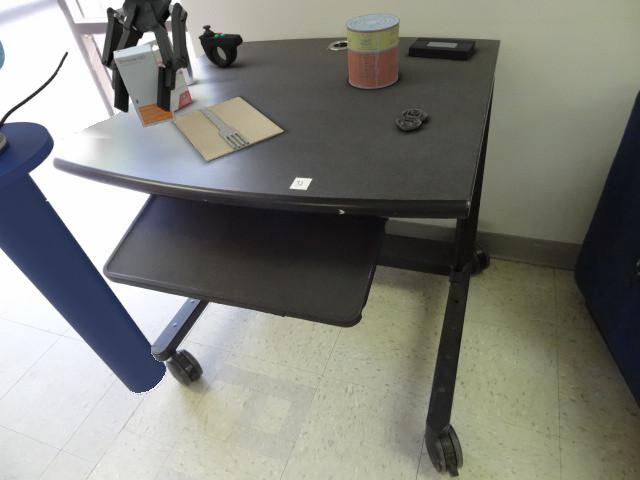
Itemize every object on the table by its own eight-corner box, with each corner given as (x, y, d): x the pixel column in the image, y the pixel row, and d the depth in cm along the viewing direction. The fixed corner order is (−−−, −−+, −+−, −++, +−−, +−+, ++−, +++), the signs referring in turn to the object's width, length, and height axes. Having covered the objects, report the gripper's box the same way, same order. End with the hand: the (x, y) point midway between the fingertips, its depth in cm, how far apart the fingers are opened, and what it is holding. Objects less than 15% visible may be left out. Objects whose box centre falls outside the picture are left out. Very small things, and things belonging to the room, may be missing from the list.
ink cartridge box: (180, 98, 96) (156, 31, 86) (193, 101, 93) (170, 34, 83) (150, 113, 91) (122, 44, 81) (163, 117, 89) (136, 47, 79)
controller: (213, 62, 112) (202, 23, 106) (250, 64, 108) (241, 24, 101) (204, 68, 110) (192, 28, 103) (242, 70, 105) (232, 29, 98)
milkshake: (199, 77, 105) (186, 36, 98) (195, 85, 101) (182, 43, 94) (182, 79, 105) (168, 38, 98) (178, 87, 101) (163, 45, 94)
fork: (197, 112, 88) (196, 110, 88) (210, 108, 89) (209, 106, 89) (234, 149, 74) (233, 147, 74) (249, 143, 75) (248, 141, 75)
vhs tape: (418, 45, 105) (418, 37, 104) (474, 49, 99) (475, 40, 98) (408, 55, 100) (408, 47, 99) (466, 60, 94) (467, 51, 93)
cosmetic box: (143, 129, 70) (112, 58, 62) (141, 119, 73) (112, 50, 65) (177, 120, 71) (152, 49, 63) (174, 111, 74) (150, 42, 66)
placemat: (172, 120, 87) (172, 119, 87) (239, 97, 92) (239, 96, 92) (207, 161, 73) (206, 160, 72) (283, 132, 78) (283, 130, 78)
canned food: (376, 65, 98) (375, 11, 90) (408, 77, 91) (411, 19, 83) (339, 79, 94) (335, 23, 86) (370, 93, 87) (369, 33, 78)
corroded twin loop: (391, 130, 74) (391, 125, 73) (405, 111, 79) (405, 106, 78) (417, 134, 72) (417, 129, 71) (430, 114, 77) (431, 109, 76)
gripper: (214, -15, 69) (207, 115, 69) (111, -7, 73) (104, 117, 72) (193, -47, 62) (185, 99, 62) (80, -36, 66) (72, 102, 65)
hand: (142, 109), depth 67 cm, fingers closed on cosmetic box, 7 cm apart
